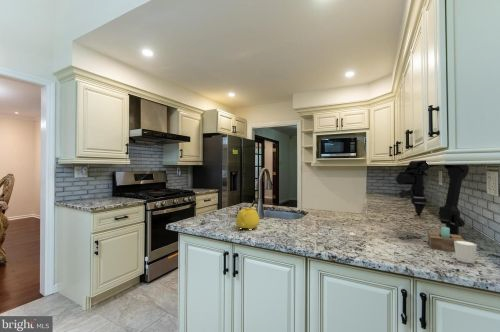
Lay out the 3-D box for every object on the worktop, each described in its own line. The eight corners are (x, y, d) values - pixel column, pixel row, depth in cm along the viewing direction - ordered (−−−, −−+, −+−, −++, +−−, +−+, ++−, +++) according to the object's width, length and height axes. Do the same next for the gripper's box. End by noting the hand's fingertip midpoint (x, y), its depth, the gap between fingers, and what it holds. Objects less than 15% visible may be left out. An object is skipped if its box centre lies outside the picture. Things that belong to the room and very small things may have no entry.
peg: (440, 245, 114) (440, 226, 114) (449, 246, 112) (448, 227, 112) (441, 247, 111) (441, 228, 111) (450, 248, 110) (450, 228, 110)
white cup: (469, 264, 92) (468, 246, 92) (449, 258, 98) (449, 241, 98) (481, 262, 94) (481, 244, 94) (461, 256, 100) (461, 239, 100)
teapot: (231, 230, 143) (231, 209, 143) (244, 223, 161) (244, 204, 161) (253, 233, 138) (253, 210, 138) (264, 225, 156) (264, 205, 156)
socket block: (428, 241, 120) (428, 231, 120) (459, 245, 114) (459, 235, 114) (431, 248, 110) (431, 237, 110) (465, 253, 103) (465, 241, 103)
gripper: (399, 183, 138) (399, 210, 138) (399, 185, 122) (399, 216, 122) (423, 183, 132) (423, 212, 132) (426, 186, 116) (426, 218, 116)
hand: (417, 214), depth 125 cm, fingers open, 9 cm apart
